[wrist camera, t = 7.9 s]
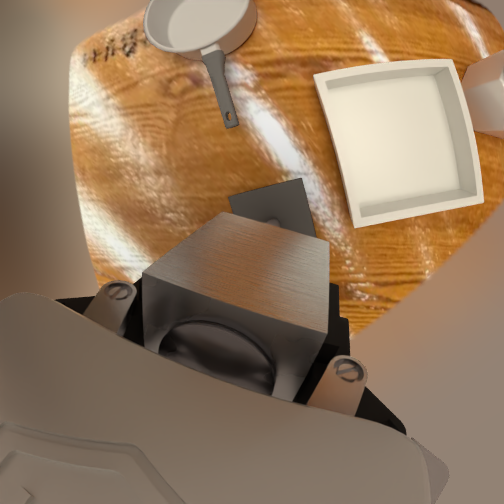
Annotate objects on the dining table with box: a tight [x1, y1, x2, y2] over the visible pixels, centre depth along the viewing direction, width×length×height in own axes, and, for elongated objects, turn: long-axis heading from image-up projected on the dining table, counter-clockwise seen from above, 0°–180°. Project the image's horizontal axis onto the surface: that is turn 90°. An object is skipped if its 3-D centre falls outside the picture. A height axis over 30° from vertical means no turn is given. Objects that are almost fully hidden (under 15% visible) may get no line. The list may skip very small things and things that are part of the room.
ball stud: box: [228, 178, 317, 238], centre depth 28 cm, size 8×8×4 cm
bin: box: [313, 59, 484, 228], centre depth 22 cm, size 14×14×4 cm
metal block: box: [142, 212, 329, 401], centre depth 11 cm, size 5×5×7 cm
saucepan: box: [143, 0, 257, 129], centre depth 22 cm, size 12×20×6 cm, turn 17°
